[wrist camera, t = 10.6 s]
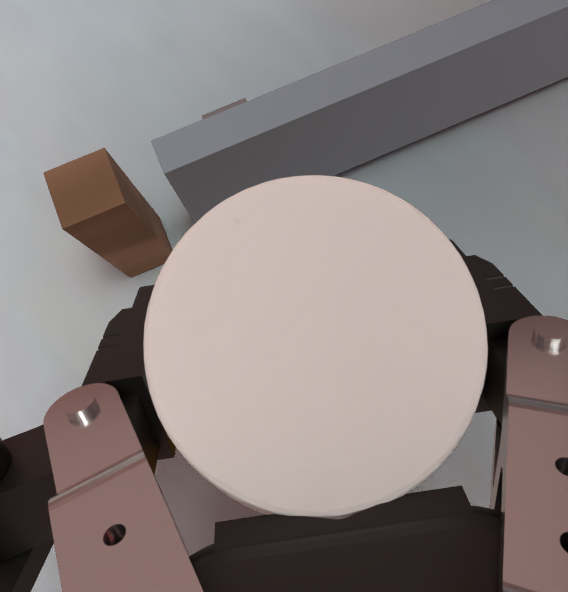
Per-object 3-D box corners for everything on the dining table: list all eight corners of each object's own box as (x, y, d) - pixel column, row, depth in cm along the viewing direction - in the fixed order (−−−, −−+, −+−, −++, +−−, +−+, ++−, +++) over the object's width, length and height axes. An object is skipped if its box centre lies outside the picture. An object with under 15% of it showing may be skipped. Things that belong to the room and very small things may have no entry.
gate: (181, 186, 20) (140, 114, 15) (631, -1, 21) (731, -126, 16) (200, 232, 19) (164, 173, 14) (660, 37, 20) (773, -79, 15)
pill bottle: (227, 292, 18) (107, 121, 7) (392, 293, 18) (529, 118, 7) (218, 465, 16) (55, 579, 6) (397, 470, 16) (580, 600, 5)
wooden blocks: (113, 231, 20) (-159, -12, 8) (742, -32, 21) (1269, -557, 10) (132, 282, 19) (-132, 99, 8) (775, 8, 21) (1375, -496, 9)
